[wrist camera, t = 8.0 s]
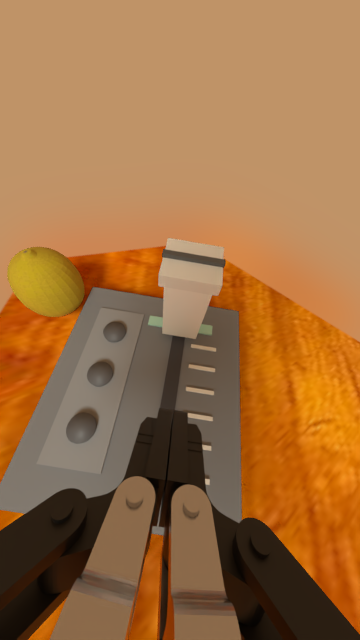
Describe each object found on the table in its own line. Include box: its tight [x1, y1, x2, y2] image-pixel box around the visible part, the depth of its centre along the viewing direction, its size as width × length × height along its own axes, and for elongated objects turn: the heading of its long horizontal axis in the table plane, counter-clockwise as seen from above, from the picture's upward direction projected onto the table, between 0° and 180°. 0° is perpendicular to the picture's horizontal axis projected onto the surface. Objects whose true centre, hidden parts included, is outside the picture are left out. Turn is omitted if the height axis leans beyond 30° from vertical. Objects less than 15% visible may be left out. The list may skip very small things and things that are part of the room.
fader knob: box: [158, 238, 225, 339], centre depth 16 cm, size 4×3×8 cm
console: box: [0, 287, 242, 535], centre depth 18 cm, size 16×18×3 cm
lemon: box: [7, 247, 84, 317], centre depth 19 cm, size 6×6×8 cm
